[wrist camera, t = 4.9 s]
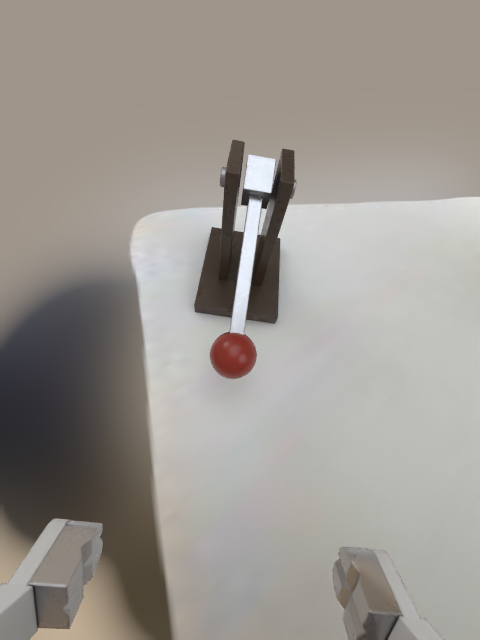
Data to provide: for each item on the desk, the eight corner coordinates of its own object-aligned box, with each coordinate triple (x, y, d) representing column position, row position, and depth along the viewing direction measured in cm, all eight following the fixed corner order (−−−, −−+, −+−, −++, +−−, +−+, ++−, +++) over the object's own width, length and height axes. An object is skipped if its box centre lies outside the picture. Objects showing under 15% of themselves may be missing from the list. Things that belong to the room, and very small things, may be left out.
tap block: (274, 323, 28) (325, 225, 16) (194, 311, 28) (185, 201, 16) (277, 246, 34) (316, 131, 22) (211, 235, 34) (214, 111, 22)
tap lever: (250, 377, 21) (255, 385, 18) (208, 371, 21) (205, 379, 17) (277, 183, 22) (287, 155, 19) (237, 176, 22) (239, 146, 19)
